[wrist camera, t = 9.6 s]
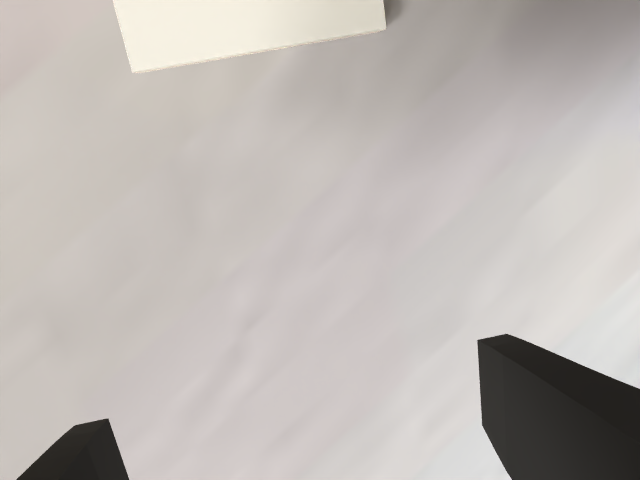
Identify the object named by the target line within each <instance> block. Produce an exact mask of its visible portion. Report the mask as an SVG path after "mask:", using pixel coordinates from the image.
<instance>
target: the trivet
mask: <svg viewBox="0 0 640 480" xmlns="http://www.w3.org/2000/svg"><path fill="white" fill-rule="evenodd" d="M113 4H114V7H115V11H116V15H117V18H118V22H119V26H120V29H121V33H122V37H123V40H124V44H125V48H126V51H127V55H128V59H129V62H130V66H131V70H132V72H133V73H144V72H149V71H155V70H161V69H167V68H173V67H178V66H184V65H190V64H196V63H202V62H207V61H213V60H219V59H225V58H231V57H237V56H242V55H248V54H254V53H260V52H266V51H271V50H277V49H283V48H289V47H295V46H300V45H306V44H312V43H318V42H324V41H329V40H335V39H341V38H347V37H353V36H359V35H364V34H370V33H376V32H380V31H383V30H385V29H386V20H385V11H384V3H383V0H113Z"/></svg>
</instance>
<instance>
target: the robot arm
mask: <svg viewBox="0 0 640 480" xmlns="http://www.w3.org/2000/svg"><path fill="white" fill-rule="evenodd" d="M477 341H478V358H479V376H480V393H481V411H482V426H483V428H484V430H485V432H486V433H487V435H488V437H489V439H490V441H491V443H492V445H493V447H494V449H495V451H496V453H497V455H498V456H499V458H500V460H501V462H502V464H503V466H504V467H505V469H506V471H507V473H508V474H509V476H510V477H511V479H512V480H640V389H638V388H636V387H633V386H631V385H628V384H626V383H623V382H621V381H618V380H616V379H613V378H611V377H608V376H606V375H604V374H601V373H599V372H597V371H594V370H592V369H589V368H587V367H585V366H582V365H580V364H578V363H576V362H573V361H571V360H569V359H566V358H564V357H562V356H559V355H557V354H555V353H553V352H550V351H548V350H546V349H543V348H541V347H539V346H536V345H534V344H532V343H529V342H527V341H524V340H522V339H519V338H517V337H514V336H511V335H508V334H504V335H499V336H495V337H490V338H485V339H480V340H477ZM16 480H129V478H128V475H127V472H126V469H125V466H124V463H123V460H122V457H121V454H120V451H119V449H118V446H117V443H116V440H115V437H114V434H113V431H112V428H111V425H110V422H109V419H103V420H98V421H93V422H89V423H84V424H79V425H75V426H74V427H72V428H71V429H70V430H69V431H68V432H66V433H65V434H64V435H63V436H62V437H61V438H60V439H58V440H57V441H56V442H55V443H54V444H53V445H52V446H51V447H50V448H49V449H48V450H47V451H46V452H45V453H44V454H42V455H41V456H40V457H39V458H38V459H37V460H36V461H35V462H34V463H33V464H32V465H31V466H30V467H29V468H28V469H27V470H26V471H25V472H24V473H23V474H22V475H21V476H20V477H19V478H18V479H16Z"/></svg>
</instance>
